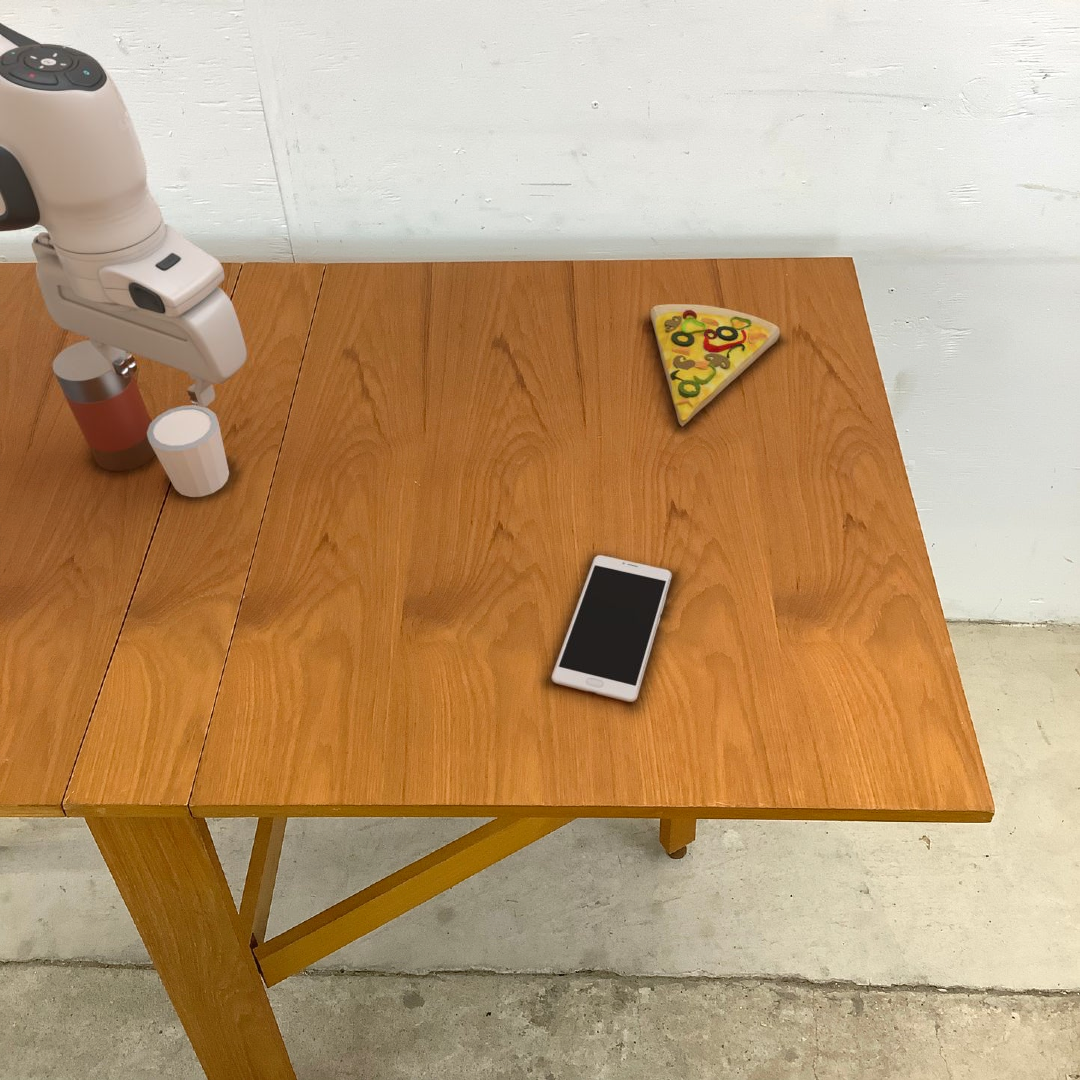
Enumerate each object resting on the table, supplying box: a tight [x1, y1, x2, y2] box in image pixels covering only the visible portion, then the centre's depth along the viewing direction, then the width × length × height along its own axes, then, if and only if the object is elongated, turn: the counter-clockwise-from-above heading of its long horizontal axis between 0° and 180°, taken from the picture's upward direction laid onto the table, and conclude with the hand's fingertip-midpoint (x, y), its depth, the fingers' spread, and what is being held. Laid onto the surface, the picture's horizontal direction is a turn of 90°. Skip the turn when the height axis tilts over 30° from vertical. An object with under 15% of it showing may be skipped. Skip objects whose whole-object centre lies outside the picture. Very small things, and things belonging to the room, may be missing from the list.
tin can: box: [52, 339, 157, 472], centre depth 100 cm, size 7×7×12 cm
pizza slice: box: [650, 303, 781, 427], centre depth 111 cm, size 16×21×3 cm
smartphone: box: [551, 554, 673, 703], centre depth 87 cm, size 8×1×15 cm
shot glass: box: [147, 404, 230, 498], centre depth 99 cm, size 7×7×7 cm
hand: (164, 386), depth 92 cm, fingers open, 8 cm apart
